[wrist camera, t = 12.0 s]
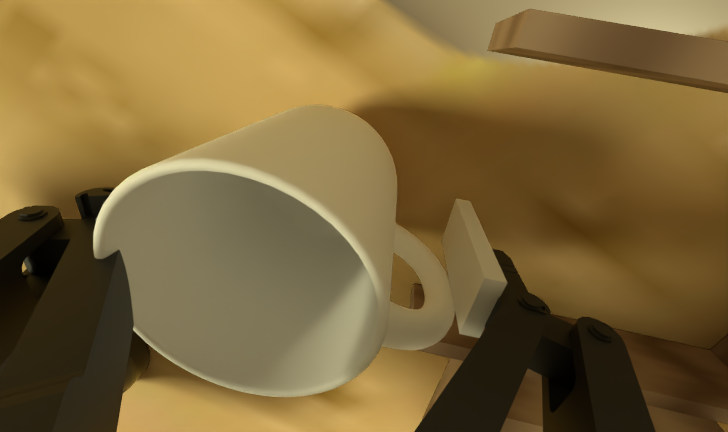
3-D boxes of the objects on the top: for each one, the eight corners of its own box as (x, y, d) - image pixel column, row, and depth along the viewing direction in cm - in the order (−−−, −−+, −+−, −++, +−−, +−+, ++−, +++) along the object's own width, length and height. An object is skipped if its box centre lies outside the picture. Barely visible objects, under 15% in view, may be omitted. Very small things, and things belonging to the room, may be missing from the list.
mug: (483, 190, 16) (580, 348, 7) (401, 285, 20) (397, 468, 11) (290, 68, 15) (108, 80, 6) (239, 196, 19) (80, 325, 10)
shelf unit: (375, 406, 31) (364, 506, 24) (495, 23, 15) (567, -9, 8) (600, 463, 30) (657, 586, 23) (1009, 111, 14) (1644, 167, 7)
